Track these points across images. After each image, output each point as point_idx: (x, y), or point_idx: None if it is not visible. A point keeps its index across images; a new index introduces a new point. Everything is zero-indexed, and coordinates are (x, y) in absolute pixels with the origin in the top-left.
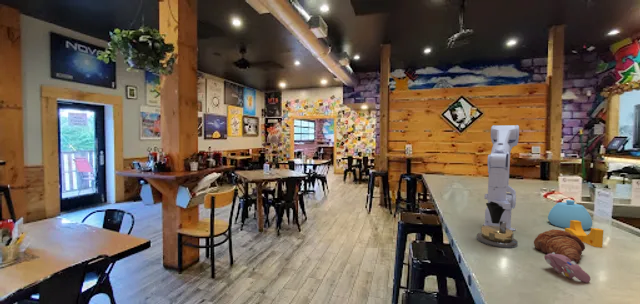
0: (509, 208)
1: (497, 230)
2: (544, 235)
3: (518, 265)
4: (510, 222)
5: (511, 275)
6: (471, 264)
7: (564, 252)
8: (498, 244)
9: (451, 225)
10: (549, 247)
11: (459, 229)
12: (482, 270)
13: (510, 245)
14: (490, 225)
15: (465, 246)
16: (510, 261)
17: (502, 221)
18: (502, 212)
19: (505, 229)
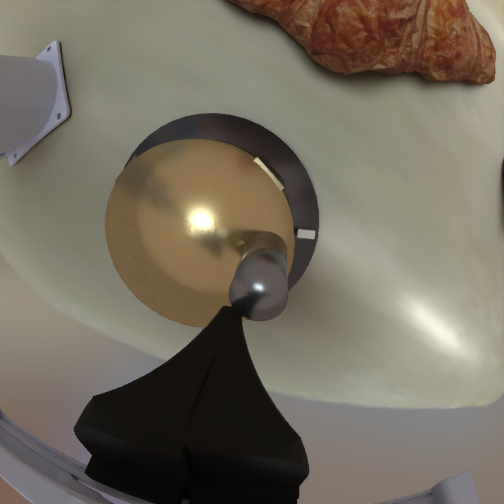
0: (467, 478)
1: (210, 253)
2: (397, 28)
3: (467, 295)
4: (28, 61)
5: (487, 345)
6: (414, 404)
7: (484, 70)
8: (304, 269)
9: (47, 299)
10: (430, 69)
11: (79, 297)
12: (445, 392)
13: (317, 208)
14: (21, 142)
15: (287, 380)
16: (440, 303)
17: (240, 291)
18: (264, 394)
19: (286, 257)
